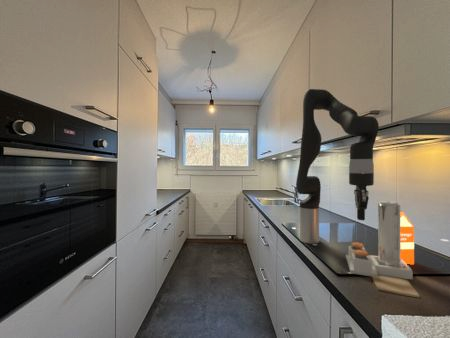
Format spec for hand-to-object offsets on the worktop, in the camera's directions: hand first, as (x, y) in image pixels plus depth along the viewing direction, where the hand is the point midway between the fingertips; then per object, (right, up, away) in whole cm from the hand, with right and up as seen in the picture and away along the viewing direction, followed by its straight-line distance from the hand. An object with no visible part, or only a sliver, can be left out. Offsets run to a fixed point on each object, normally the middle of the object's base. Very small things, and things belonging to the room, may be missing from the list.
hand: (360, 219), depth 80 cm
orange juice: (+20, -19, +10) cm, 29 cm away
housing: (+7, -19, +2) cm, 20 cm away
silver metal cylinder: (+11, -19, +1) cm, 22 cm away
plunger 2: (0, -17, 0) cm, 17 cm away
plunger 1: (+4, -17, +8) cm, 19 cm away
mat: (+4, -19, -10) cm, 21 cm away
